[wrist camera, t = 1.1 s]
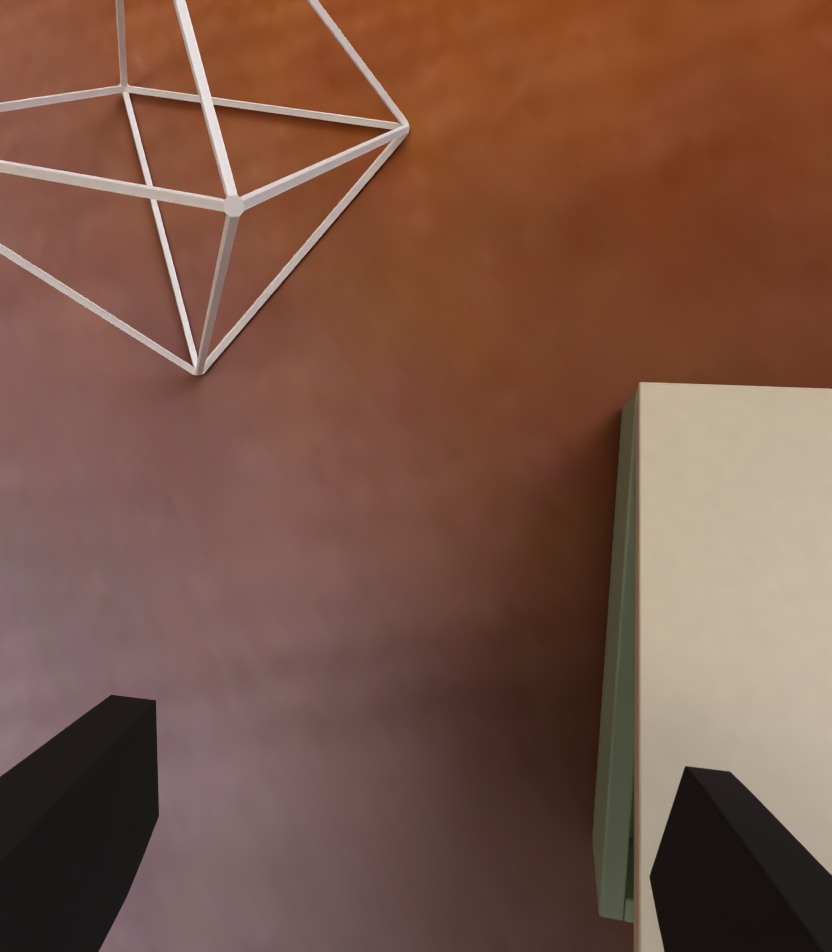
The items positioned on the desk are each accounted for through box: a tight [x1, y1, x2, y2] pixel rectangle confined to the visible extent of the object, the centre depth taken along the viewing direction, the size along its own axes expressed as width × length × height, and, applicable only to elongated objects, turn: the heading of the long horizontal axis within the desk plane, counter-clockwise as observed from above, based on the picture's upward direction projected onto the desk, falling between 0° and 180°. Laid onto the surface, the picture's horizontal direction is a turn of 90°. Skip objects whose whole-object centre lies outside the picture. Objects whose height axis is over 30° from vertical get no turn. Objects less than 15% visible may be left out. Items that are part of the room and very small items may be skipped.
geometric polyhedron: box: [0, 0, 409, 375], centre depth 18 cm, size 12×11×9 cm
